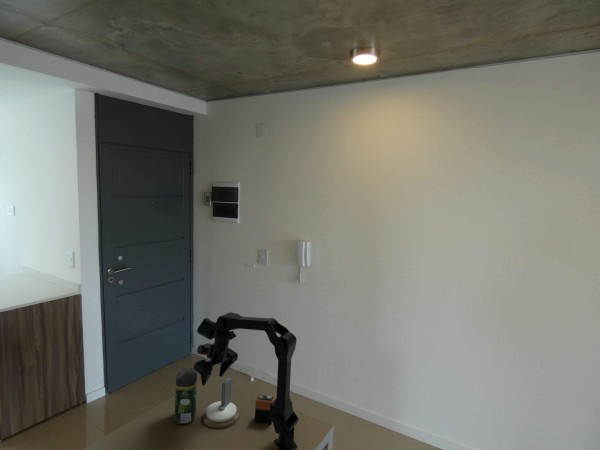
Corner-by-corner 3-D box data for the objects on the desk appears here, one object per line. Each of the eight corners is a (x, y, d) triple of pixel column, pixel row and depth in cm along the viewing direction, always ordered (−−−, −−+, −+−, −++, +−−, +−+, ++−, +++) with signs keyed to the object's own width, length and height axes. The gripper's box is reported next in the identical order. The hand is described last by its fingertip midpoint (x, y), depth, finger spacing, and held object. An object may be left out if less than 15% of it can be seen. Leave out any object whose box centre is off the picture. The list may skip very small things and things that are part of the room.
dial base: (243, 423, 137) (243, 419, 136) (207, 432, 130) (207, 427, 130) (233, 404, 149) (233, 400, 149) (199, 411, 143) (199, 407, 142)
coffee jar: (176, 410, 142) (178, 366, 141) (196, 409, 143) (198, 365, 142) (172, 426, 133) (173, 378, 131) (193, 424, 134) (195, 377, 133)
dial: (239, 417, 137) (241, 389, 136) (209, 425, 132) (211, 395, 131) (231, 402, 147) (232, 375, 146) (203, 408, 142) (204, 380, 141)
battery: (271, 424, 137) (272, 400, 136) (254, 422, 138) (255, 397, 137) (273, 418, 141) (274, 394, 141) (256, 416, 142) (258, 392, 141)
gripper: (223, 329, 148) (214, 362, 150) (188, 341, 132) (179, 378, 134) (242, 341, 142) (233, 375, 145) (208, 355, 126) (199, 394, 129)
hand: (212, 380), depth 138 cm, fingers open, 9 cm apart
